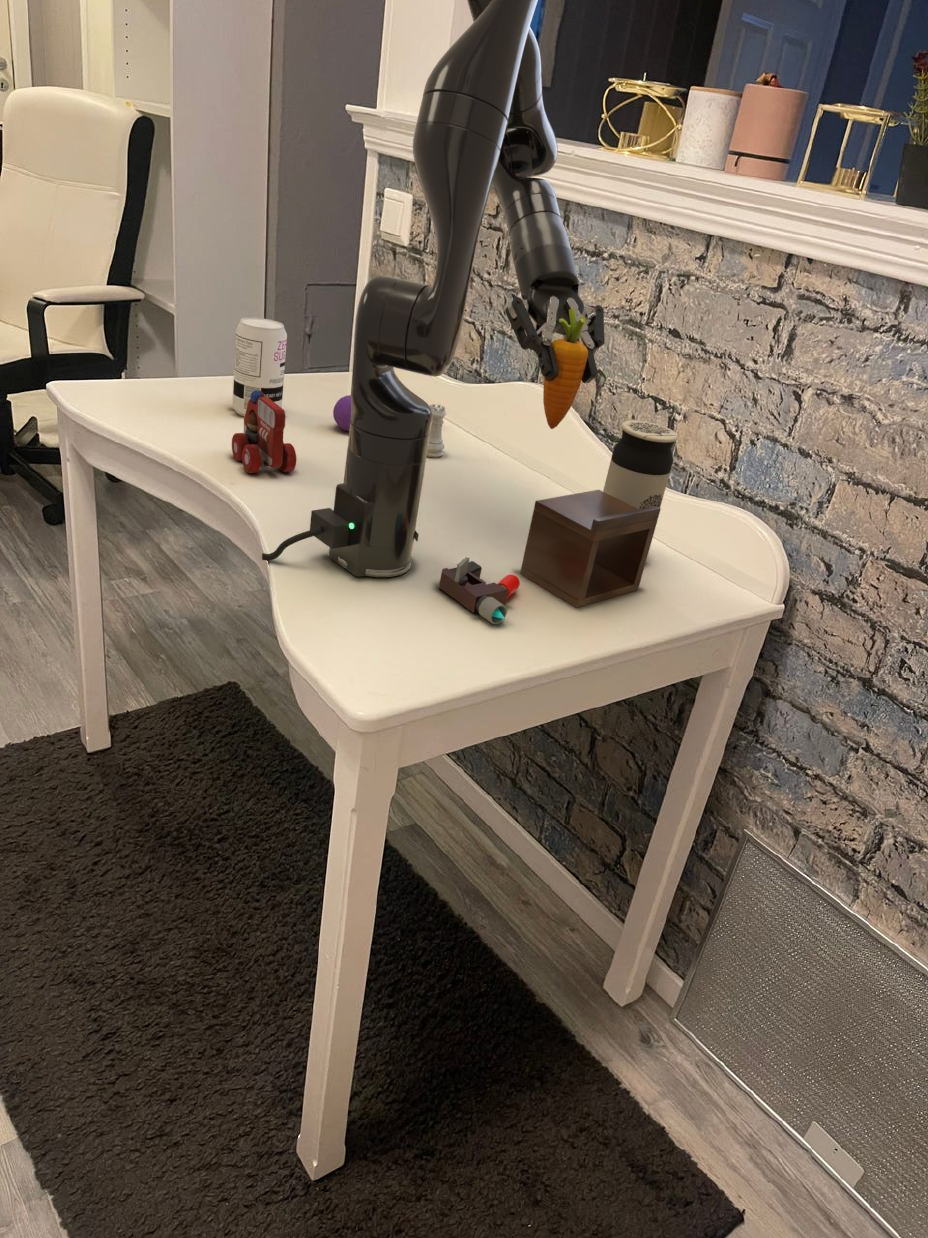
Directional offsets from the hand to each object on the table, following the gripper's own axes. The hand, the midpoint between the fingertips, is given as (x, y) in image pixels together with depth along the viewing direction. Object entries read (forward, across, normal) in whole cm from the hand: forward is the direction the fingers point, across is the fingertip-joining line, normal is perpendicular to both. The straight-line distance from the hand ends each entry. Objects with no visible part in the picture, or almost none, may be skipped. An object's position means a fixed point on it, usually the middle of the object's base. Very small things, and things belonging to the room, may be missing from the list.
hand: (571, 378), depth 118 cm
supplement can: (-23, -23, +56) cm, 64 cm away
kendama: (-18, -3, +51) cm, 54 cm away
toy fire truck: (-5, -29, +39) cm, 49 cm away
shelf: (+24, +1, +9) cm, 26 cm away
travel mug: (+19, +12, +14) cm, 26 cm away
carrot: (+4, 0, +6) cm, 8 cm away
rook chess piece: (-9, +1, +42) cm, 43 cm away
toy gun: (+26, -14, +7) cm, 31 cm away
